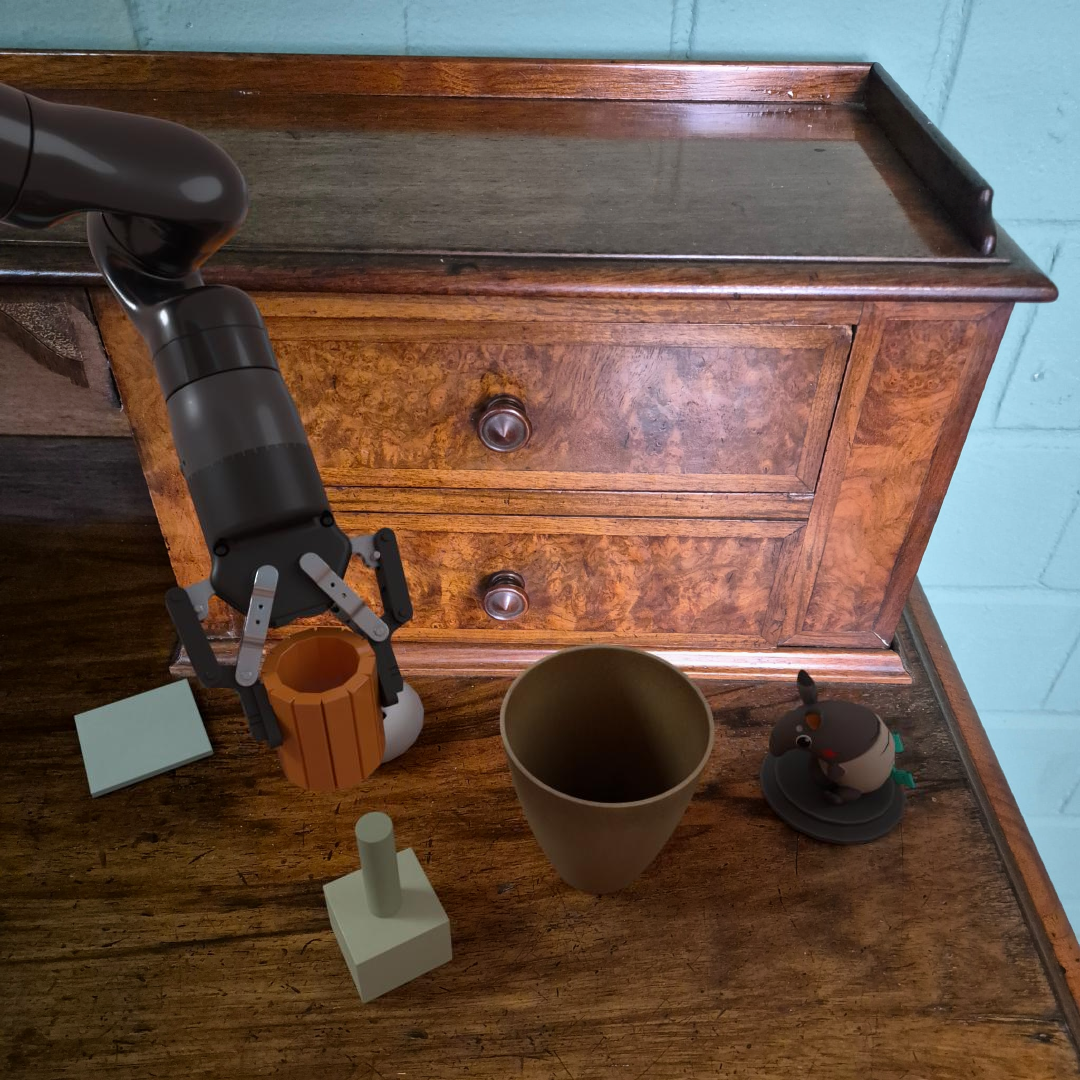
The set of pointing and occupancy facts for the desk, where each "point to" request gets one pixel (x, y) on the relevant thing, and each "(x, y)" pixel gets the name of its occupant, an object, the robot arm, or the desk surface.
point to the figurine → (834, 770)
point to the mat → (141, 737)
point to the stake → (386, 913)
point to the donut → (402, 723)
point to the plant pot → (604, 758)
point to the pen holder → (326, 707)
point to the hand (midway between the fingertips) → (335, 724)
